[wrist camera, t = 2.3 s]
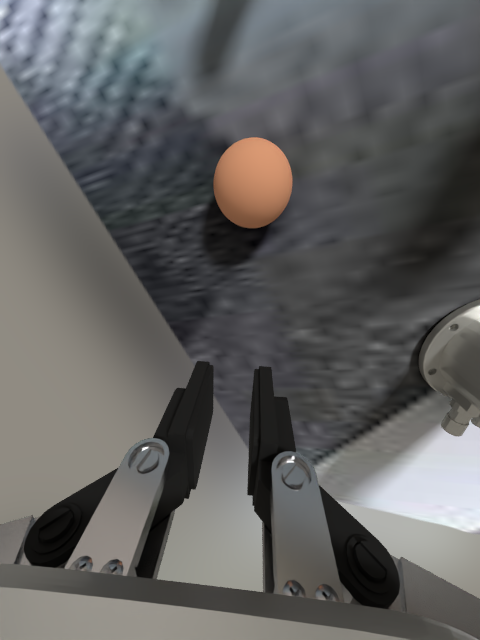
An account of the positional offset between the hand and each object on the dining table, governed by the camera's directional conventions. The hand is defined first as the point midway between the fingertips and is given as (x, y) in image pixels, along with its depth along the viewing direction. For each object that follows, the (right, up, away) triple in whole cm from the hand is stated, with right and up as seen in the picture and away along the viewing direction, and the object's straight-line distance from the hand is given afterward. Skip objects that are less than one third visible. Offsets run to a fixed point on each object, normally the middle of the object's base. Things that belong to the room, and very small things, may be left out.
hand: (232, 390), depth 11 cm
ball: (+1, +14, +7) cm, 15 cm away
